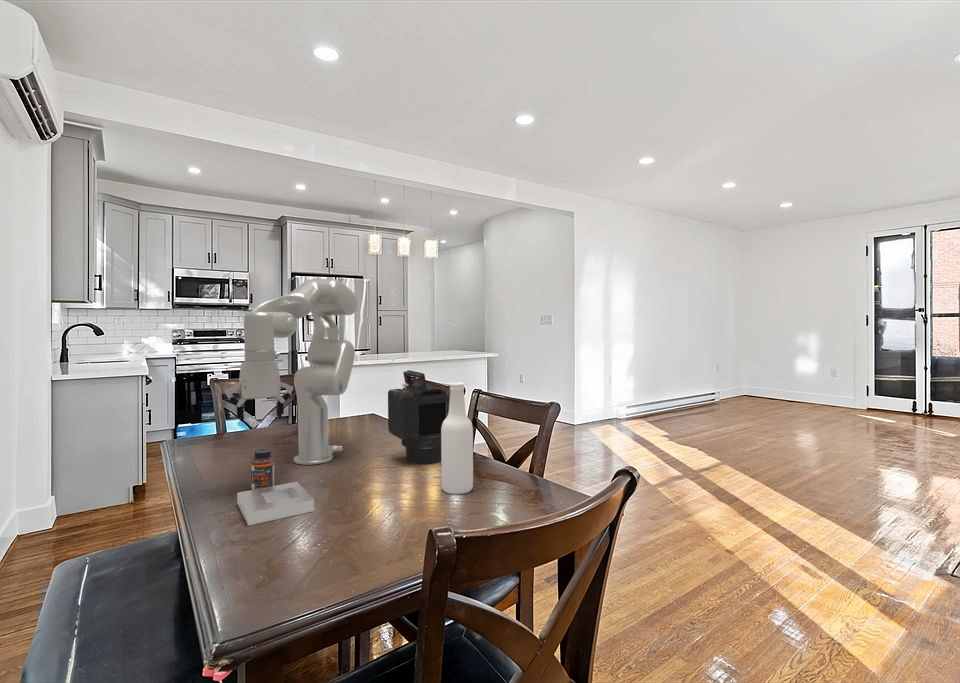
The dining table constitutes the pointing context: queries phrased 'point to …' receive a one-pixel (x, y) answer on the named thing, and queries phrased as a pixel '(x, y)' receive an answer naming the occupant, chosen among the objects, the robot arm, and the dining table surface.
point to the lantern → (418, 418)
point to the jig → (274, 503)
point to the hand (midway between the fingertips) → (260, 418)
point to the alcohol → (457, 445)
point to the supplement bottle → (262, 470)
